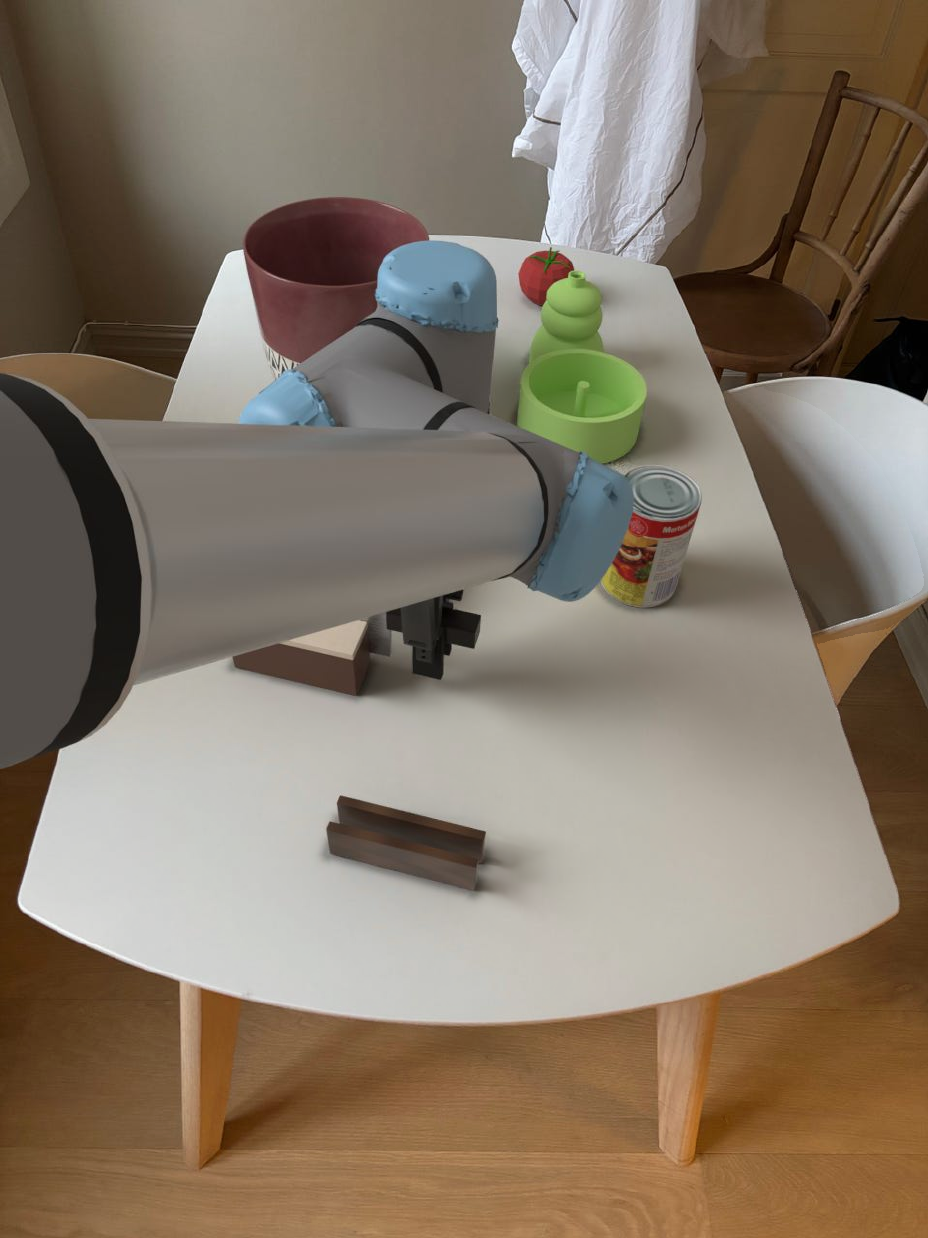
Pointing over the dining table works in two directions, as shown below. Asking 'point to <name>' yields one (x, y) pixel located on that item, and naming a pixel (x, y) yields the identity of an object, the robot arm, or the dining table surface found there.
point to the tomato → (542, 273)
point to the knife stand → (407, 842)
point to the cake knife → (457, 625)
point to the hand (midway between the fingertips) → (432, 661)
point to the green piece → (579, 378)
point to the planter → (319, 270)
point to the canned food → (654, 536)
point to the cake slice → (316, 658)
